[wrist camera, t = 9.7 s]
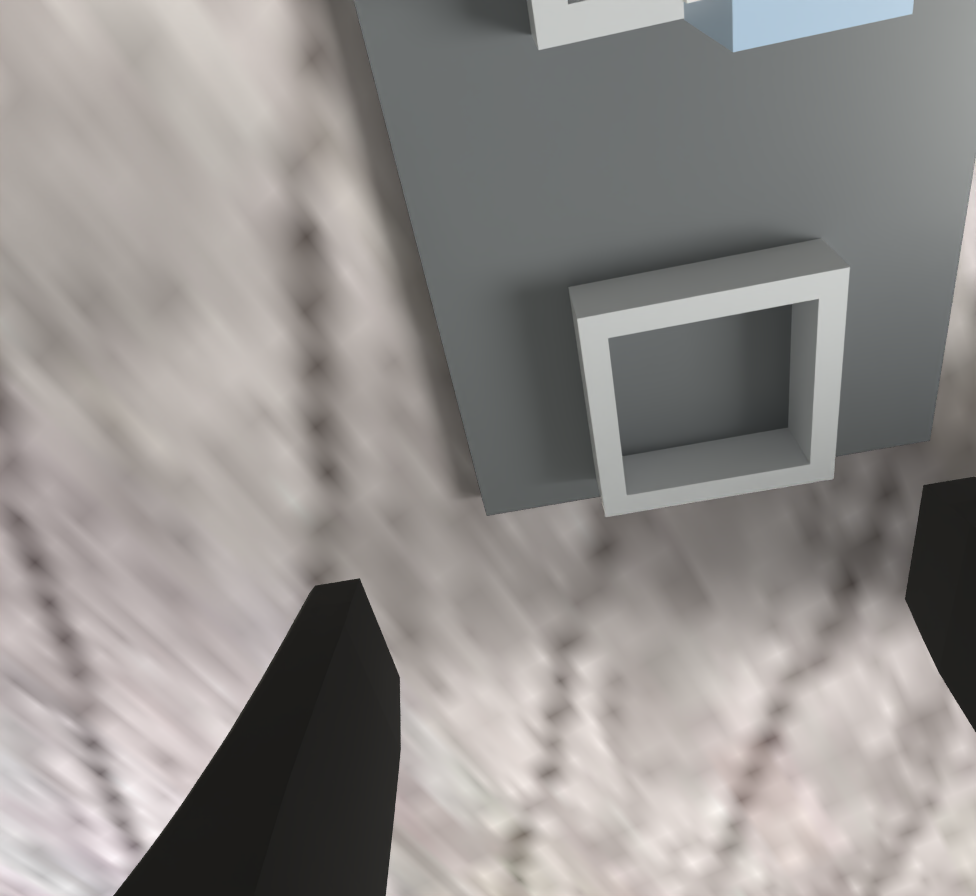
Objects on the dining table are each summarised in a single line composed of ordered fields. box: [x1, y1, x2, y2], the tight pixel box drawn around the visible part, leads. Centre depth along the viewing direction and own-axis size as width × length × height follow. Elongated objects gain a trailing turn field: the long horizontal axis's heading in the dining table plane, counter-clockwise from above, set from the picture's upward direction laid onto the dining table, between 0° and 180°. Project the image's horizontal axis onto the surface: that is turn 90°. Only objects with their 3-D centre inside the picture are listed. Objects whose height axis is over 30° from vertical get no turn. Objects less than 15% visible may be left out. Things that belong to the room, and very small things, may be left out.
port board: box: [354, 0, 976, 517], centre depth 16 cm, size 12×18×2 cm, turn 11°
